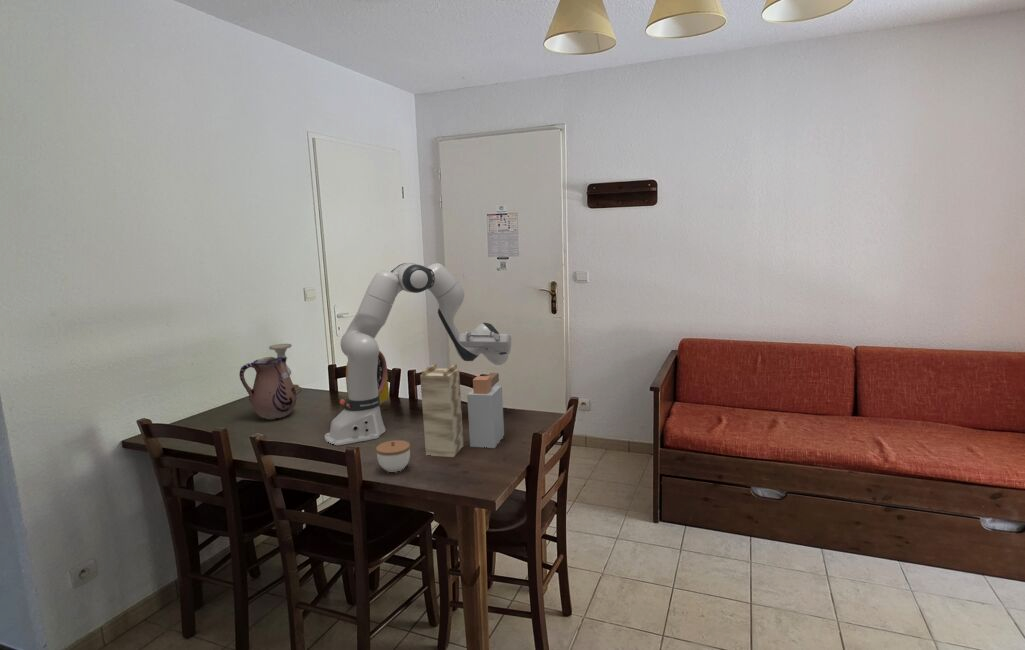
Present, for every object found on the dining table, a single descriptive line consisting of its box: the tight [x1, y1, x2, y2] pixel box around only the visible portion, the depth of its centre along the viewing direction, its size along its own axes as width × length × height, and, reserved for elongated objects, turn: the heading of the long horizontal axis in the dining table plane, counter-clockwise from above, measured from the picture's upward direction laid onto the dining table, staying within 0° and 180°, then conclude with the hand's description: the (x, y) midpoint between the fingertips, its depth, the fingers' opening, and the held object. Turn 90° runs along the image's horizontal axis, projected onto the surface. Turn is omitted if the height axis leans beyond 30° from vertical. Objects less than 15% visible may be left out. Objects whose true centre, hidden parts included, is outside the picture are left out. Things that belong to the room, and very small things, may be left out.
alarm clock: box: [345, 350, 390, 404], centre depth 262 cm, size 21×9×26 cm, turn 164°
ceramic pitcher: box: [238, 356, 297, 420], centre depth 250 cm, size 18×21×25 cm
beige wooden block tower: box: [419, 363, 464, 458], centre depth 203 cm, size 10×10×30 cm
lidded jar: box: [375, 439, 411, 473], centre depth 191 cm, size 11×11×9 cm
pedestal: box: [466, 385, 505, 449], centre depth 211 cm, size 12×9×19 cm
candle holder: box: [268, 343, 302, 392], centre depth 287 cm, size 11×11×24 cm
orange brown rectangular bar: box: [472, 372, 500, 394], centre depth 213 cm, size 18×5×5 cm, turn 165°
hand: (479, 333), depth 221 cm, fingers open, 8 cm apart
